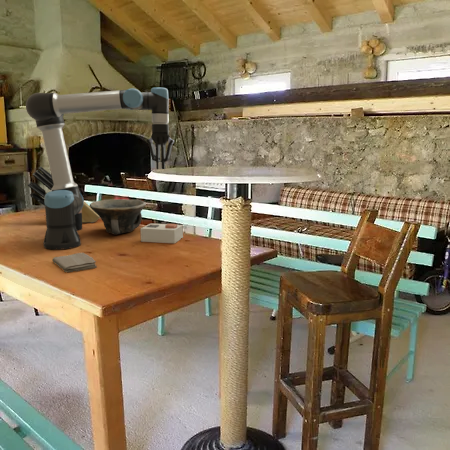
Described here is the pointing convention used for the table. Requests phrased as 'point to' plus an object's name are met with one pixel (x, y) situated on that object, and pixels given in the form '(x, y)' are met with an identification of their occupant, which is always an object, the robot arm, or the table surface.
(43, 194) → the knife block
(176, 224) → the pink cube
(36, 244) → the table surface
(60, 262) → the washcloth
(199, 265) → the table surface
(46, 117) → the robot arm
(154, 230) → the block
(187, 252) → the table surface
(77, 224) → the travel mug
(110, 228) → the bowl
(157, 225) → the grey metal cube
